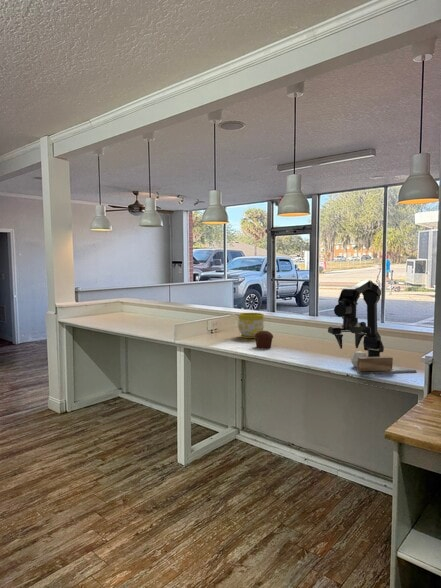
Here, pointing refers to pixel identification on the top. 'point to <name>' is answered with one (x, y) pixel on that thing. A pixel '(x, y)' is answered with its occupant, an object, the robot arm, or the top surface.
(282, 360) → the top surface
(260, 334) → the muffin
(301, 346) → the top surface
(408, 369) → the rail
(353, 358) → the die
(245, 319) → the flowerpot
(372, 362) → the wooden block
